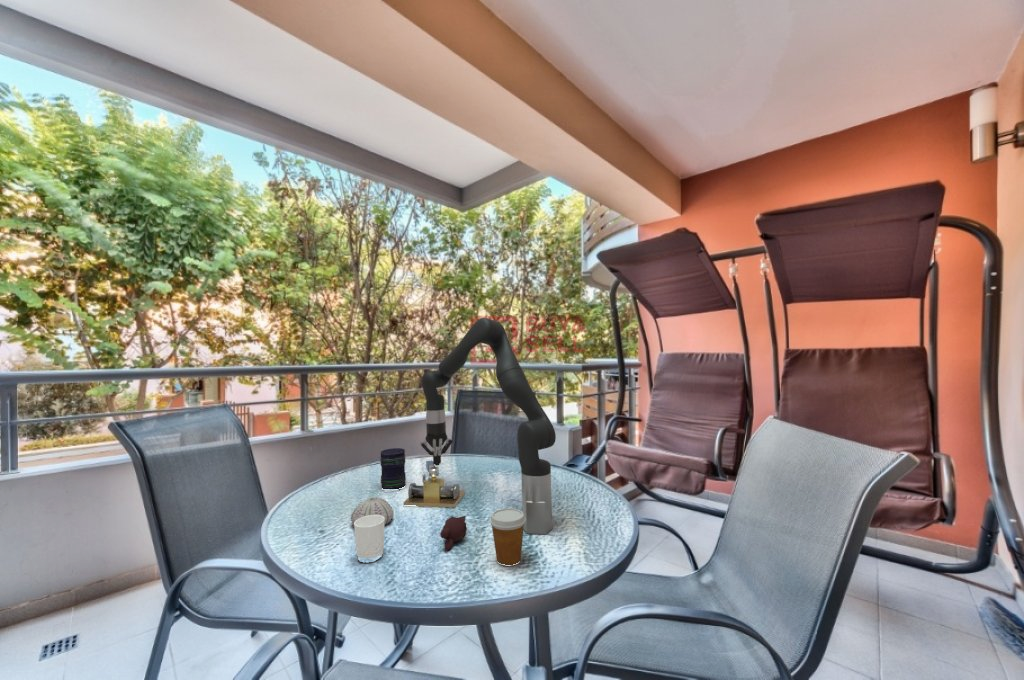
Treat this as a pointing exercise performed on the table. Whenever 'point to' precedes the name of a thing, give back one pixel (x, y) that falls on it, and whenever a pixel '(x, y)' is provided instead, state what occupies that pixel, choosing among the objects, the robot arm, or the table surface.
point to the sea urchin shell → (373, 509)
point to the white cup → (369, 536)
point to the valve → (434, 493)
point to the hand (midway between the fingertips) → (437, 464)
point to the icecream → (453, 530)
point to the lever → (432, 469)
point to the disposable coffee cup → (508, 534)
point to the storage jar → (393, 468)
